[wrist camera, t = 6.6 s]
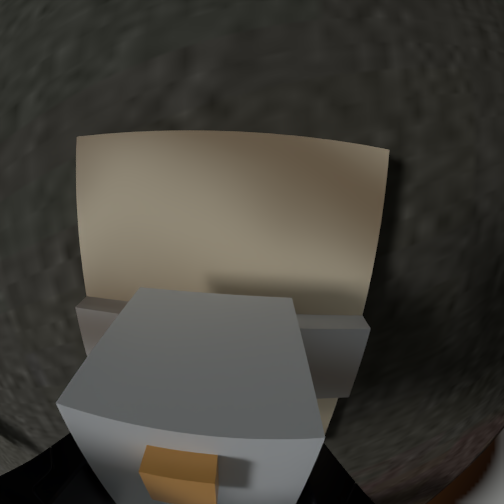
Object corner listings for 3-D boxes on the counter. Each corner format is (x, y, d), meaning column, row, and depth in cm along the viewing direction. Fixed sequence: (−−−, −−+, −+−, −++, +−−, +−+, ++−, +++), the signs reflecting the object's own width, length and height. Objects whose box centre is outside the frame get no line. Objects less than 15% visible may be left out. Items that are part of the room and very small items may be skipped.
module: (269, 438, 11) (275, 557, 5) (162, 428, 11) (132, 540, 5) (291, 297, 9) (332, 467, 3) (140, 287, 9) (41, 425, 3)
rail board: (312, 437, 15) (318, 469, 13) (133, 423, 15) (122, 453, 13) (373, 149, 11) (402, 150, 8) (95, 137, 10) (61, 136, 8)
